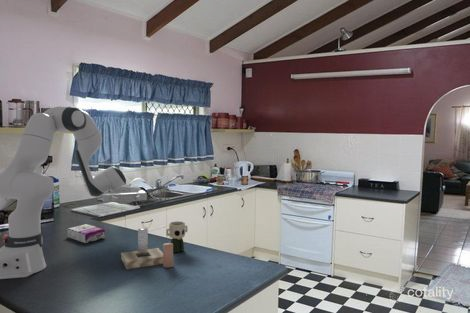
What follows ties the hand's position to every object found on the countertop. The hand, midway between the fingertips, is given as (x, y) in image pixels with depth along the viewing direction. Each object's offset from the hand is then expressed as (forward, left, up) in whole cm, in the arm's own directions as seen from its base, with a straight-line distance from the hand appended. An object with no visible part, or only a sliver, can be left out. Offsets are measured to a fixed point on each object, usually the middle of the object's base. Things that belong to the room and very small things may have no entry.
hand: (127, 199), depth 176 cm
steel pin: (+3, -18, -24) cm, 30 cm away
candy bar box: (-12, +20, -21) cm, 32 cm away
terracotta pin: (+11, -28, -24) cm, 38 cm away
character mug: (+20, -11, -24) cm, 33 cm away
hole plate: (+3, -18, -24) cm, 30 cm away
